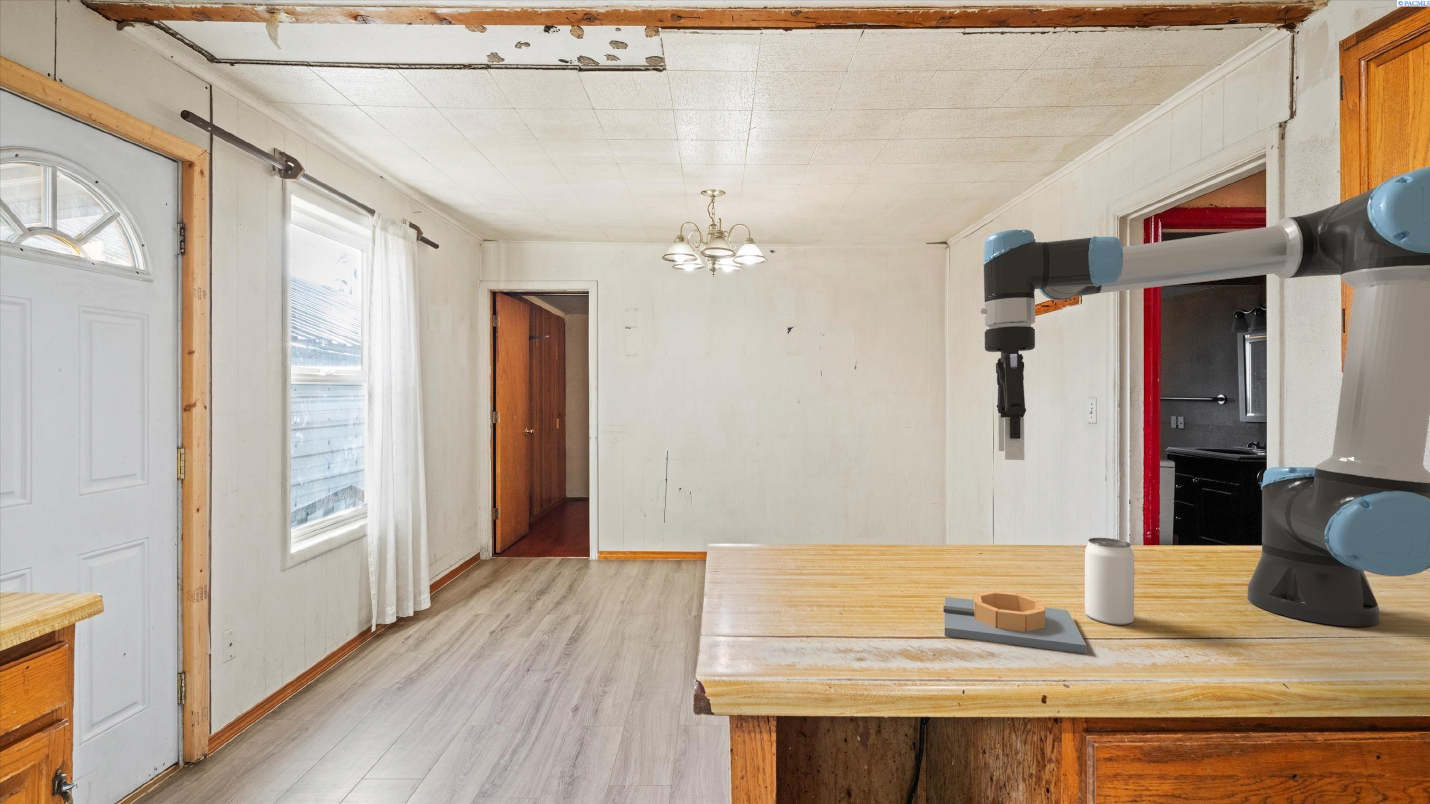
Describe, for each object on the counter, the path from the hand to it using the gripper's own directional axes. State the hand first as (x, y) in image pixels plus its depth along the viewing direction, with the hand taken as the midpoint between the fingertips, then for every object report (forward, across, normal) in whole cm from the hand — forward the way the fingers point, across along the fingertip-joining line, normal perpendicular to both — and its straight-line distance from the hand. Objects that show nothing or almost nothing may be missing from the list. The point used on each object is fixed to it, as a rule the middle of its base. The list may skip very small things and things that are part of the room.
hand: (1010, 455), depth 101 cm
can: (+25, +1, +14) cm, 29 cm away
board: (+25, +10, -1) cm, 27 cm away
